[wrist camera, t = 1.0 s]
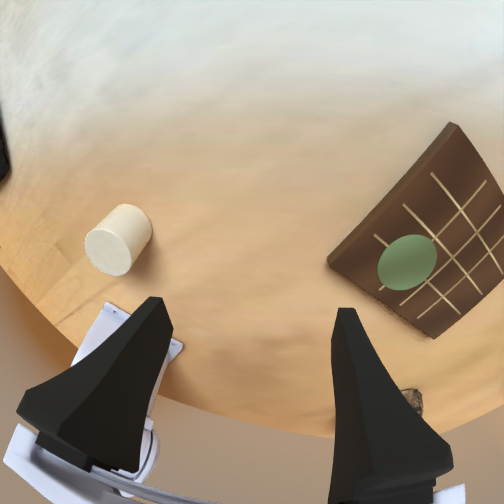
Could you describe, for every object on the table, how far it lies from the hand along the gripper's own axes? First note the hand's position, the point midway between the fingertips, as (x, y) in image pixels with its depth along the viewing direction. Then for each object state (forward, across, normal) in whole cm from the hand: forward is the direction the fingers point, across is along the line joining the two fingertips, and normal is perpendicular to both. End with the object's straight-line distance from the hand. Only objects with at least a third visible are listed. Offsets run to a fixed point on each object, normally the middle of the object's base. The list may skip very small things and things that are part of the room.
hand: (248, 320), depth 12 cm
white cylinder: (+10, +11, +2) cm, 15 cm away
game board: (+11, -15, +4) cm, 19 cm away
